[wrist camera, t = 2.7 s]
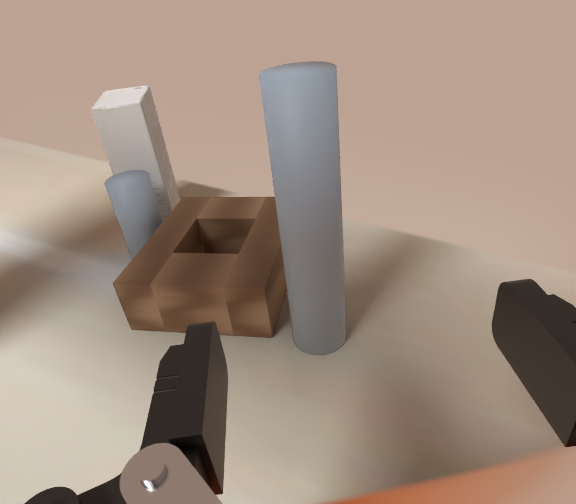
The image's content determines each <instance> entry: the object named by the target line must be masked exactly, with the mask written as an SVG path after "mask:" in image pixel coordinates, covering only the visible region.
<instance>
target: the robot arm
mask: <svg viewBox="0 0 576 504" xmlns="http://www.w3.org/2000/svg"><path fill="white" fill-rule="evenodd" d="M492 333H493V337H494V340H495V342H496V344H497V346H498V348H499V349H500V351H501V352H502V354H503V355H504V356H505V358H506V359H507V361H508V362H509V364H510V365H511V367H512V368H513V370H514V371H515V373H516V374H517V376H518V377H519V379H520V380H521V382H522V383H523V385H524V386H525V388H526V389H527V391H528V392H529V394H530V395H531V397H532V398H533V400H534V401H535V403H536V404H537V406H538V407H539V409H540V410H541V412H542V413H543V415H544V416H545V418H546V419H547V421H548V422H549V424H550V425H551V427H552V428H553V429H554V431H555V432H556V434H557V435H558V437H559V438H560V440H561V441H562V443H563V444H564V446H565V447H570V446H576V308H575V307H574V306H573V305H572V304H570V303H568V302H566V301H565V300H563V299H561V298H559V297H558V296H556V295H554V294H552V295H547V294H546V293H545V292H544V291H543V290H542V289H541V287H540V286H539V285H538V284H537V283H536V282H535V281H534V280H532V279H525V280H517V281H510V282H503V283H501V284H500V286H499V289H498V294H497V299H496V304H495V310H494V315H493V320H492ZM227 390H228V372H227V364H226V359H225V355H224V351H223V347H222V344H221V340H220V336H219V332H218V328H217V325H216V323H215V321H212V322H205V323H198V324H190V325H188V326H187V330H186V336H185V341H184V344H182V345H175V346H170V348H169V349H168V351H167V352H166V354H165V355H164V356H163V358H162V359H161V361H160V364H159V368H158V373H157V381H156V382H155V386H154V394H153V395H152V400H151V405H150V409H149V414H148V418H147V423H146V427H145V432H144V436H143V441H142V445H141V448H140V450H139V452H137V453H136V454H135V455H134V456H133V457H132V458H131V459H130V460H129V461H128V463H127V464H126V466H125V467H124V469H123V471H122V473H121V474H120V475H118V476H117V477H115V478H114V479H112V480H110V481H108V482H106V483H104V484H101V485H99V486H97V487H95V488H93V489H90V490H88V491H86V492H84V493H81V494H79V495H76V493H75V492H74V491H73V490H71V489H69V488H66V487H53V488H50V489H47V490H44V491H42V492H40V493H38V494H36V495H35V496H33V497H32V498H31V499H29V500H28V501H27V502H26V503H25V504H222V503H221V501H220V500H219V499H218V498H217V496H216V495H218V494H223V479H224V457H225V435H226V412H227Z"/></svg>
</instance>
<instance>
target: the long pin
mask: <svg viewBox="0 0 576 504" xmlns="http://www.w3.org/2000/svg"><path fill="white" fill-rule="evenodd" d="M259 77H260V84H261V93H262V100H263V108H264V116H265V124H266V132H267V139H268V147H269V155H270V162H271V170H272V178H273V186H274V193H275V201H276V209H277V217H278V225H279V232H280V240H281V248H282V256H283V263H284V271H285V279H286V286H287V294H288V302H289V310H290V317H291V325H292V333H293V340H294V343H295V344H296V346H297V347H298V348H299V349H301V350H302V351H304V352H306V353H309V354H314V355H323V354H328V353H331V352H334V351H336V350H337V349H339V348H340V347H341V346H342V345H343V344H344V342H345V340H346V309H345V283H344V256H343V229H342V203H341V176H340V149H339V125H338V124H339V123H338V96H337V69H336V65H335V64H332V63H327V62H298V63H291V64H284V65H279V66H275V67H271V68H268V69H266V70H263V71H262V72H261V73H260V74H259Z"/></svg>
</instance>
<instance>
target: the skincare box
mask: <svg viewBox="0 0 576 504" xmlns="http://www.w3.org/2000/svg"><path fill="white" fill-rule="evenodd" d="M91 112H92V115H93V118H94V121H95V124H96V127H97V129H98V132H99V135H100V138H101V141H102V144H103V147H104V150H105V152H106V155H107V158H108V161H109V164H110V167H111V170H112V173H113V176H114V175H116V174H118V173H121V172H125V171H131V170H144V171H146V172H148V174H149V177H150V180H151V184H152V187H153V190H154V194H155V197H156V200H157V204H158V207H159V211H160V214H161V217H162V221H164V220H165V219H166V218H167V216H168V215H169V214H170V213H171V211H172V210H173V209H174V208H175V207H176V205H177V204H178V203H179V202H180V197H179V193H178V190H177V186H176V182H175V178H174V175H173V171H172V167H171V164H170V160H169V156H168V153H167V149H166V145H165V142H164V138H163V134H162V131H161V127H160V123H159V120H158V116H157V112H156V108H155V104H154V101H153V97H152V94H151V90H150V87H149V86H139V87H132V88H124V89H116V90H110V91H105V92H103V94H102V95H101V97H100V98H99V99H98V101H97V102H96V103H95V104H94V106H93V107H92V108H91Z"/></svg>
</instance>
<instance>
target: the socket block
mask: <svg viewBox="0 0 576 504" xmlns="http://www.w3.org/2000/svg"><path fill="white" fill-rule="evenodd" d="M113 285H114V288H115V290H116V293H117V295H118V298H119V300H120V302H121V305H122V307H123V310H124V312H125V315H126V317H127V320H128V322H129V325H130V327H131V329H133V330H150V331H167V332H184V333H186V330H187V326H188V325H190V324H198V323H205V322H212V321H215V323H216V325H217V328H218V332H219V335H236V336H253V337H270V338H272V337H273V334H274V330H275V327H276V323H277V320H278V316H279V313H280V309H281V306H282V303H283V299H284V296H285V292H286V289H287V286H286V279H285V271H284V263H283V256H282V248H281V240H280V232H279V225H278V217H277V209H276V201H275V197H201V198H182V199H181V200H180V202H179V203H178V204H177V205H176V207H175V208H174V209H173V210H172V211H171V213H170V214H169V215H168V216H167V218H166V219H165V220H164V221H163V223H162V224H161V225H160V226H159V227H158V229H157V230H156V231H155V232H154V234H153V235H152V236H151V237H150V238H149V240H148V241H147V242H146V243H145V245H144V246H143V247H142V248H141V250H140V251H139V252H138V253H137V254H136V256H135V257H134V258H133V259H132V261H131V262H130V263H129V264H128V266H127V267H126V268H125V269H124V270H123V272H122V273H121V274H120V275H119V277H118V278H117V279H116V280H115V282H114V283H113Z"/></svg>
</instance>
